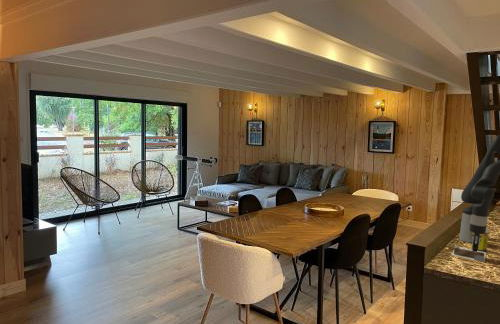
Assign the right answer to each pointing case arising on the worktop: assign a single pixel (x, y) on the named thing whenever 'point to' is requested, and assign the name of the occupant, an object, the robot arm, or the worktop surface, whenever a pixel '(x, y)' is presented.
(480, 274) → the worktop surface
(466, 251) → the folding leg
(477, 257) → the leg stop
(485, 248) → the supplement box
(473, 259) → the stool seat
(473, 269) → the worktop surface
